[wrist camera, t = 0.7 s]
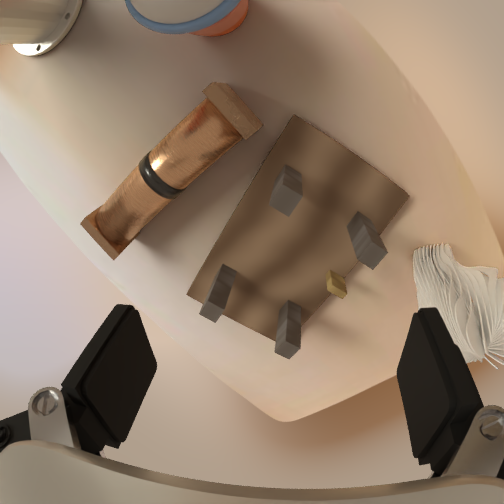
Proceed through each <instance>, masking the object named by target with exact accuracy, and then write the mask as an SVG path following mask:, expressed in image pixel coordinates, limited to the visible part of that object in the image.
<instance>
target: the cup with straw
mask: <svg viewBox="0 0 504 504" xmlns="http://www.w3.org/2000/svg"><path fill="white" fill-rule="evenodd" d="M125 3H126V6H127V8H128V10H129V12H130V13H131V15H132V16H133V17H134V19H135V20H136V21H138V22H139V23H140V24H141V25H143V26H144V27H146V28H148V29H150V30H153V31H156V32H160V33H165V34H184V33H190V34H194V35H202V36H220V35H224V34H227V33H230V32H231V31H233V30H235V29H236V28H237V27H239V26H240V25H241V23H242V22H243V21H244V19H245V17H246V15H247V11H248V0H125Z"/></svg>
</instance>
